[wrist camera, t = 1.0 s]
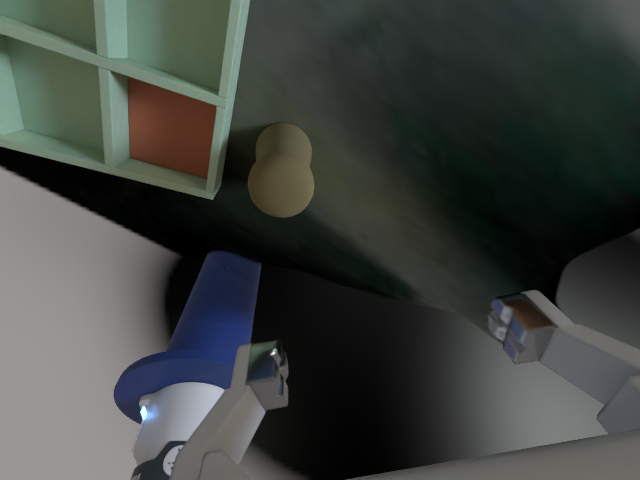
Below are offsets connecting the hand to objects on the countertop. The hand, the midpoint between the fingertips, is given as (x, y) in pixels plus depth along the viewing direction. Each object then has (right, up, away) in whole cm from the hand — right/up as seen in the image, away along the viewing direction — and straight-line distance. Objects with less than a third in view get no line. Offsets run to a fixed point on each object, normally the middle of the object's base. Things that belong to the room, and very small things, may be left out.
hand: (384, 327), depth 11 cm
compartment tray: (-19, +19, +14) cm, 30 cm away
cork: (-6, +13, +19) cm, 24 cm away
